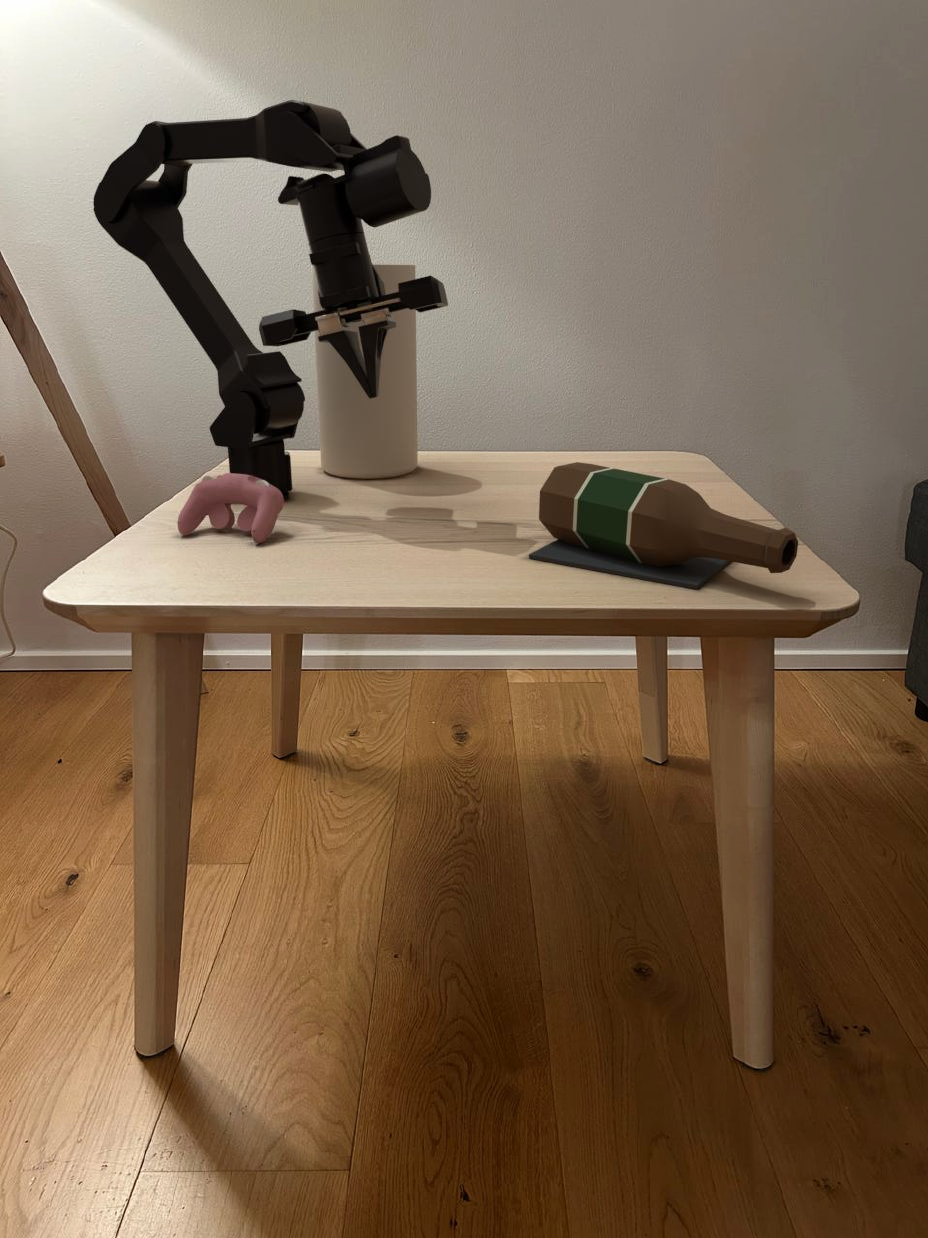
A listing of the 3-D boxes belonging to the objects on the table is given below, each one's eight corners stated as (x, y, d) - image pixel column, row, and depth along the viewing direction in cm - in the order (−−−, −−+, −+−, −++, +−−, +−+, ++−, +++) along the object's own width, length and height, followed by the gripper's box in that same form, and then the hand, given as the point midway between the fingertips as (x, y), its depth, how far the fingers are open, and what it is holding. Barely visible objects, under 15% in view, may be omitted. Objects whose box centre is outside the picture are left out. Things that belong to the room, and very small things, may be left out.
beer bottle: (550, 449, 88) (784, 494, 72) (597, 470, 94) (824, 516, 77) (525, 529, 89) (752, 592, 72) (574, 545, 94) (794, 606, 78)
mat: (528, 558, 86) (528, 554, 86) (584, 529, 96) (584, 525, 96) (697, 589, 79) (697, 585, 78) (739, 554, 88) (740, 550, 88)
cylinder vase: (301, 471, 121) (289, 264, 112) (364, 456, 130) (358, 264, 122) (375, 484, 114) (369, 265, 105) (436, 467, 124) (435, 265, 115)
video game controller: (281, 551, 93) (293, 482, 94) (259, 542, 89) (271, 470, 89) (196, 541, 96) (208, 475, 97) (170, 532, 92) (183, 462, 92)
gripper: (437, 228, 100) (469, 376, 104) (273, 270, 103) (309, 412, 107) (422, 212, 89) (457, 378, 93) (239, 260, 92) (280, 418, 96)
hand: (373, 397), depth 97 cm, fingers closed
